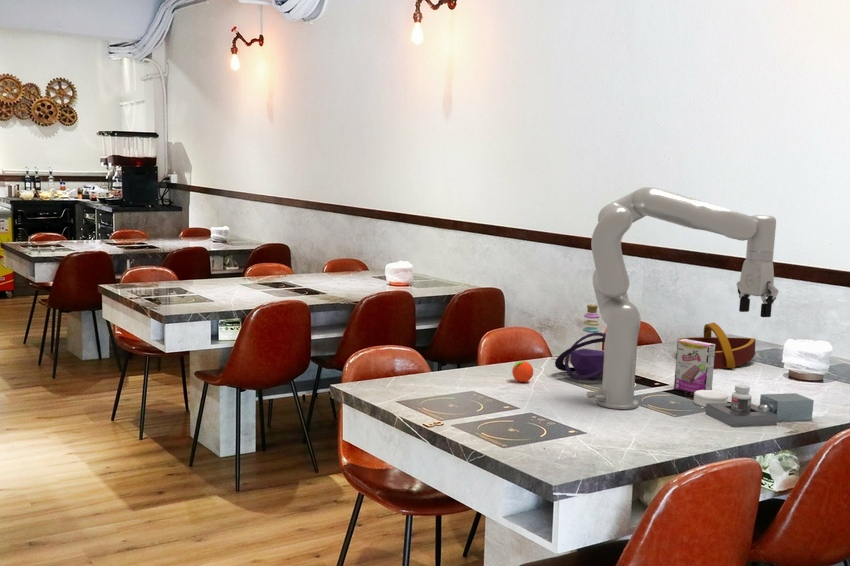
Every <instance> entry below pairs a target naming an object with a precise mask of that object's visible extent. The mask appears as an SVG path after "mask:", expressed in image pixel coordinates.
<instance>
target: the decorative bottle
mask: <svg viewBox="0 0 850 566" xmlns="http://www.w3.org/2000/svg"><path fill="white" fill-rule="evenodd" d="M586 308H587V311H586V312H587V313H584V315H583V317H584V318H587V319H588V320H585V321H583V324H584V325H586V326H587V327H584V328H583V329H582V331H583V332H586V333H588V334H587V335H584V336H582V337H581V338H579V339H577V340H576V341H575V342H574V343H573V344H572V345H571V346H570V347H569V348H567V349H566V350H565V351H563V352H562V353H560V354H559V356H557V358H556V359H555V361H554V367H555V368H556V369H557V370H559V371H563V372H566V373H567V374H568V375H569V376H571V378H574V379H577V380H595V379H598V378H599V377H600V376H601V375H603V363H604V350H600V349H598V350H597V349H591V348H582V347H585V346H590V345H592V344H596V343H597V344H598V343H605V337H606V333H605V332H599V331H600V330H599V329H598V328H597V327H594V326H599V325H600V323H599V322H598V321H597V320H594V319H599V318H601V315H599V314H598V313H597V312H598V309H599V306H598V304H592V303H589V304H587V305H586ZM589 319H591V320H589ZM592 319H593V320H592ZM589 326H591V327H589ZM596 336H598V337H599V338H593V339H590V340H586V339H587V338H590V337H591V338H592V337H596ZM584 340H585V341H584ZM569 360H570V364H571V366H570V365H569ZM574 372H576V373H577V374H576V373H574Z"/></svg>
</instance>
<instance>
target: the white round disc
mask: <svg viewBox="0 0 850 566" xmlns="http://www.w3.org/2000/svg"><path fill="white" fill-rule="evenodd" d="M693 395H694V396H693V403H694V404H695V405H698V406H699V407H703V408H704V407H705V408H706V404H707V403H729V396H728V394H727V393H726V392H725V393H724V392H722V391H718V390H714V389H712V390H698V391H696V392H695V393H693Z"/></svg>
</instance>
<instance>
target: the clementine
mask: <svg viewBox="0 0 850 566" xmlns="http://www.w3.org/2000/svg"><path fill="white" fill-rule="evenodd" d="M511 373H512V377H513V378H514V379H515V380H516V381H517V382H520V383H526V382H528V381H530V380H531V379H532V378H533V375H534V368H533V366H532V365H531V363H529V361H525V360H521V361H517V362H516V363H515V364H514V365H513V368H512V371H511Z"/></svg>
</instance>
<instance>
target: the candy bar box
mask: <svg viewBox="0 0 850 566" xmlns="http://www.w3.org/2000/svg"><path fill="white" fill-rule="evenodd" d="M675 356H676V357H675V372H674V382H673V389H674V390H678V391H682V392H688V393H692V394H694V393H695V392H696V391H698V390H713V382H714V381H713V378H714V369H713V368H714V356H715V344H711V343H705V342H699V341H694V340H688V339H681V340H678V339H677V344H676V355H675Z"/></svg>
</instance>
